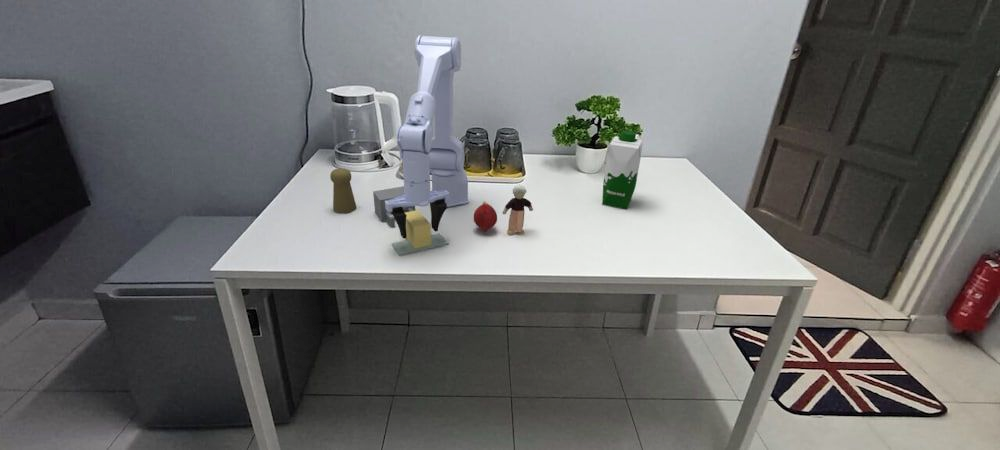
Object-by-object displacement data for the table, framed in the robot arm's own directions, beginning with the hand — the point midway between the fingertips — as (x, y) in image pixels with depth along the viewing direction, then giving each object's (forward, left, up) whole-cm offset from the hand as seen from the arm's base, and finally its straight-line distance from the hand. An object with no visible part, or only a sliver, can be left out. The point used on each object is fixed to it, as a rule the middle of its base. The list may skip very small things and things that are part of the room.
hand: (419, 233), depth 113 cm
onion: (-17, 0, -3) cm, 17 cm away
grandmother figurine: (-24, +4, -3) cm, 25 cm away
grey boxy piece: (0, -16, -3) cm, 17 cm away
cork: (+11, -26, -3) cm, 29 cm away
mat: (0, 0, -3) cm, 3 cm away
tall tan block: (0, -2, -3) cm, 3 cm away
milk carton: (-59, +2, -3) cm, 59 cm away
